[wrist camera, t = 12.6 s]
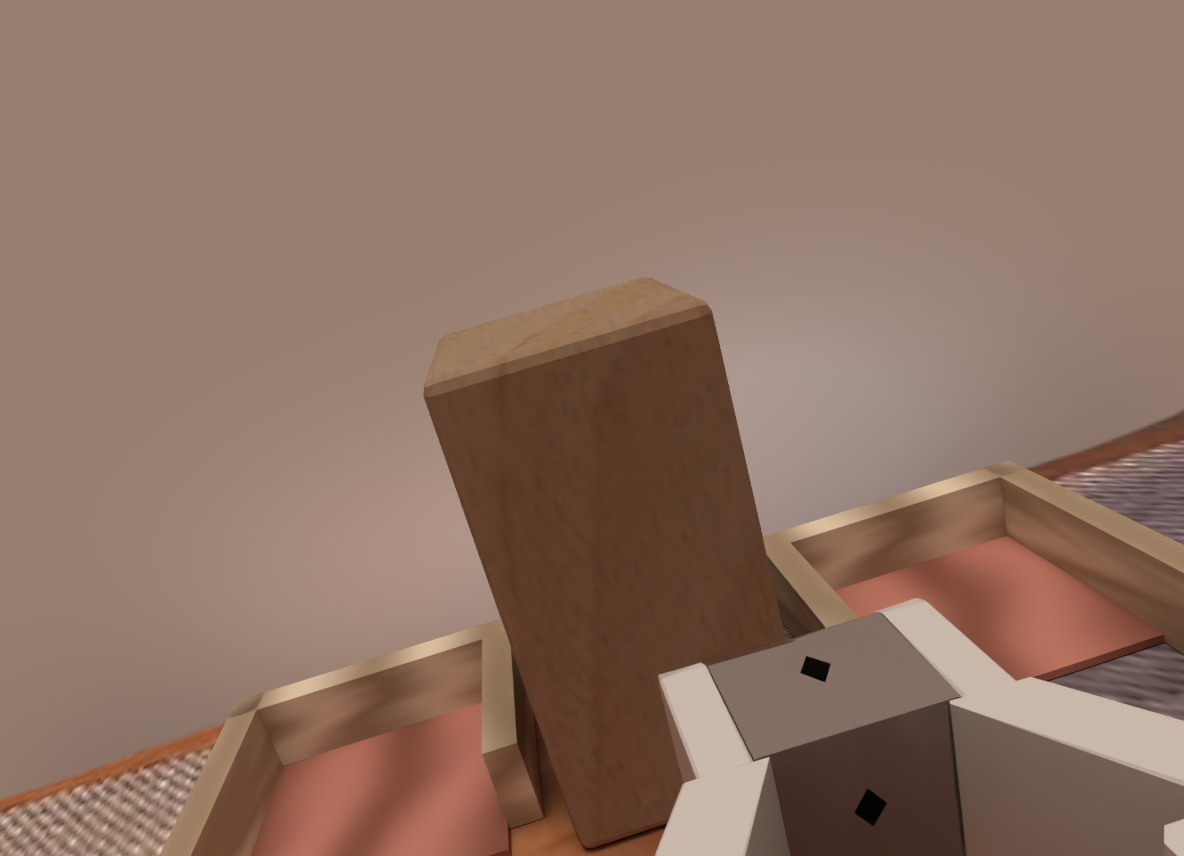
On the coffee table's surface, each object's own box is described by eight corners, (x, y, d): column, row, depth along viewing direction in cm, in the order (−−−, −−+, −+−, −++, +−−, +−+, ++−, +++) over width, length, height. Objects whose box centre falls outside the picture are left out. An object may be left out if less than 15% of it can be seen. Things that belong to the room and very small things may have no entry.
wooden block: (742, 646, 41) (651, 273, 35) (820, 778, 32) (712, 297, 26) (559, 704, 41) (435, 336, 35) (582, 857, 31) (417, 385, 25)
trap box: (36, 1343, 21) (-39, 1251, 20) (265, 761, 43) (236, 701, 42) (1520, 824, 23) (1532, 713, 22) (1015, 523, 45) (1008, 460, 44)
